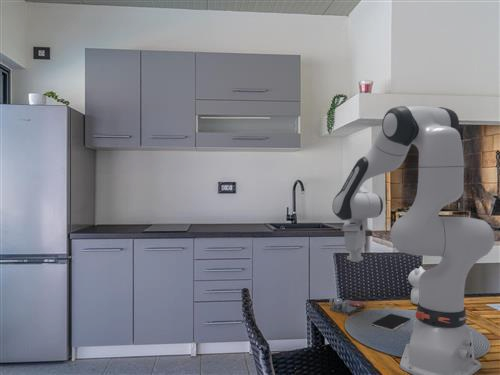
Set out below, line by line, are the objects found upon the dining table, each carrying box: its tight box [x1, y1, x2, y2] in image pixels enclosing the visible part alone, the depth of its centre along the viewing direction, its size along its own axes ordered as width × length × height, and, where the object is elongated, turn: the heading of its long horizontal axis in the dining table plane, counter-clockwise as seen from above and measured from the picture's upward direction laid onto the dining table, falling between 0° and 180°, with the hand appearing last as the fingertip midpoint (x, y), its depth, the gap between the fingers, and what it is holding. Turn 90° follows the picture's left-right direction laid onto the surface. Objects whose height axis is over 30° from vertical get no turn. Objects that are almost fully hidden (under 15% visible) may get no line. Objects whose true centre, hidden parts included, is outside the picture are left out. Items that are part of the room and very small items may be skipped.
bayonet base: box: [329, 297, 366, 316], centre depth 143 cm, size 14×10×4 cm
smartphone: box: [371, 313, 412, 332], centre depth 127 cm, size 8×1×15 cm
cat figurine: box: [407, 265, 426, 306], centre depth 147 cm, size 9×12×15 cm
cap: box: [346, 248, 364, 263], centre depth 145 cm, size 6×5×5 cm
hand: (356, 259), depth 145 cm, fingers closed on cap, 4 cm apart
